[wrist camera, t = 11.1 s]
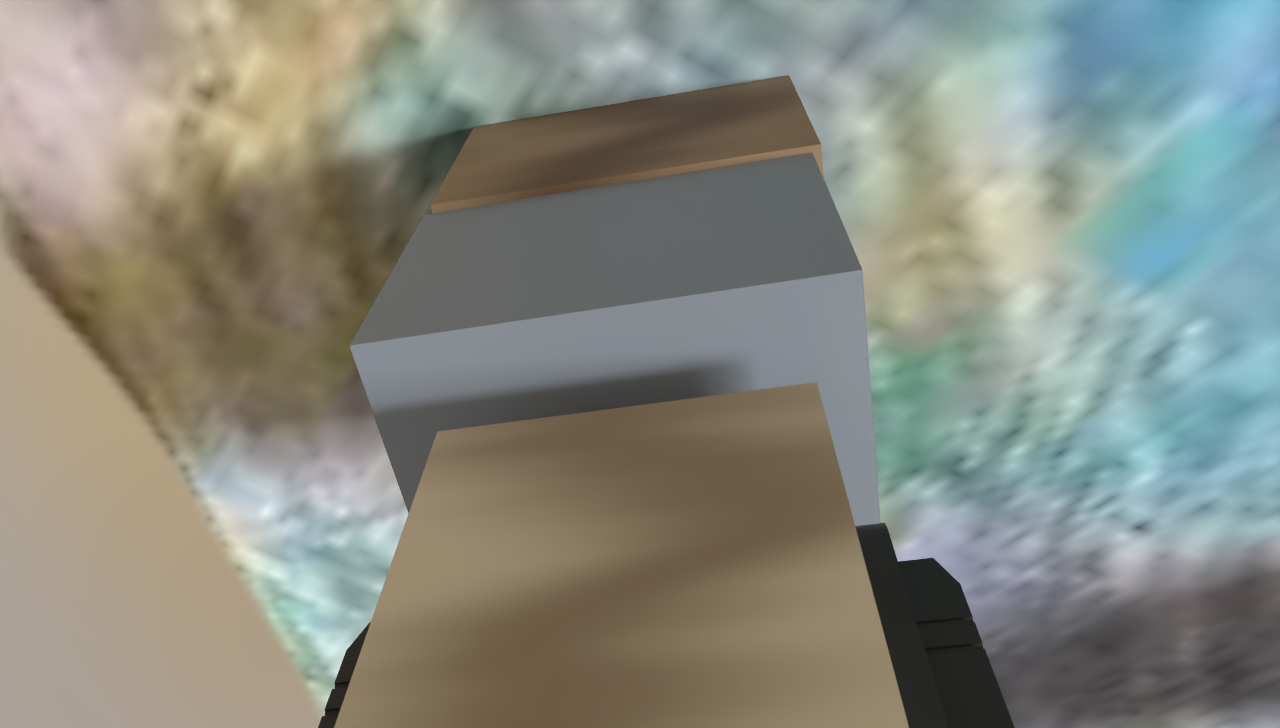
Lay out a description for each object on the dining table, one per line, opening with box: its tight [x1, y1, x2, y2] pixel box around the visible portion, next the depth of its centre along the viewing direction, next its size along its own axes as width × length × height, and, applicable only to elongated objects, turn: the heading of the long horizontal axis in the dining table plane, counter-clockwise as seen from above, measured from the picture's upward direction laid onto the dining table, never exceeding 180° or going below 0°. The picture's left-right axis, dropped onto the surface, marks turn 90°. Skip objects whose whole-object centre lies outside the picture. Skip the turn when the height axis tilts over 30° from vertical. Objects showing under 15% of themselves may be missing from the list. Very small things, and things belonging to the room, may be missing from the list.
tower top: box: [349, 153, 880, 526], centre depth 17 cm, size 7×7×5 cm
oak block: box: [334, 382, 909, 728], centre depth 12 cm, size 5×5×6 cm
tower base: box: [430, 76, 824, 213], centre depth 22 cm, size 7×7×5 cm
